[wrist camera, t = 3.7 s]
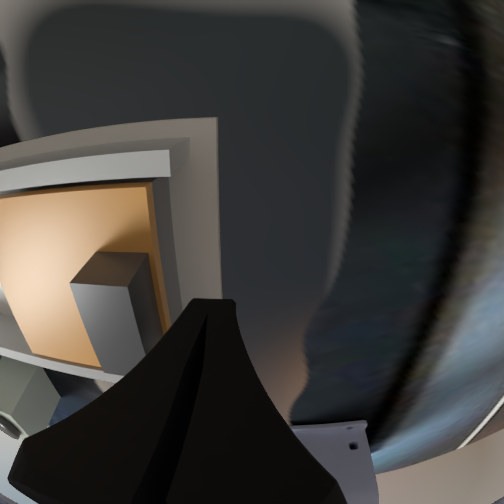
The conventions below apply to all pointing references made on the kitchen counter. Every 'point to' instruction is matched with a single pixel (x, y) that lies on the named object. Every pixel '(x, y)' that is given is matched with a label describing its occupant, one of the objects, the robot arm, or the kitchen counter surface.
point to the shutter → (85, 272)
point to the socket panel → (131, 171)
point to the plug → (25, 398)
